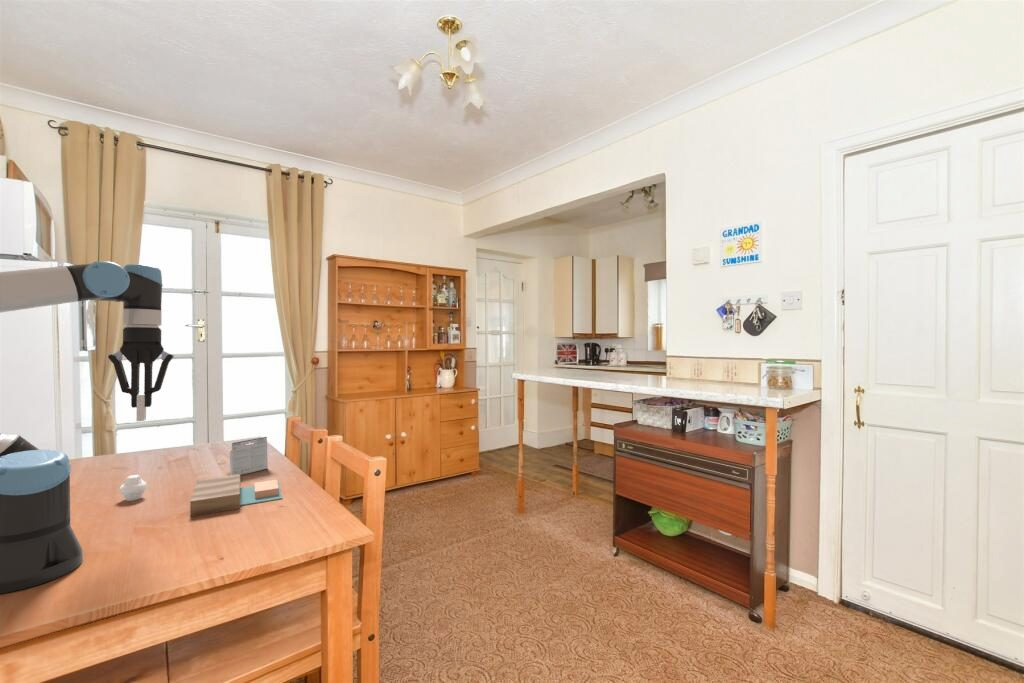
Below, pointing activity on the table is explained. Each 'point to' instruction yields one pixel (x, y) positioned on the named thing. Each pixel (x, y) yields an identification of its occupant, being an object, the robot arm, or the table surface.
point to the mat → (249, 496)
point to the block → (266, 488)
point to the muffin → (133, 488)
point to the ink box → (248, 456)
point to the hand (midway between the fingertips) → (141, 420)
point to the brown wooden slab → (215, 495)
